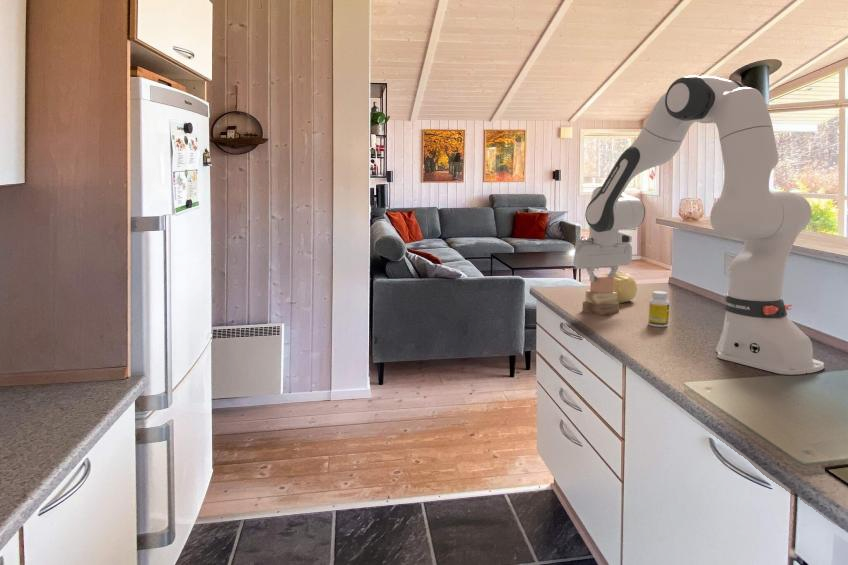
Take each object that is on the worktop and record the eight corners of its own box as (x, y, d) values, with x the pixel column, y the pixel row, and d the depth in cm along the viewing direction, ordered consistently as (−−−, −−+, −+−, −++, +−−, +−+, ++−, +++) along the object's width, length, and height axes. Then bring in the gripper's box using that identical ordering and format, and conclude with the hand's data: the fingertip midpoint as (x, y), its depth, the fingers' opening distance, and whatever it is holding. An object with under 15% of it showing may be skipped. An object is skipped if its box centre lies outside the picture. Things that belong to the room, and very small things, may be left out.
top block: (616, 303, 182) (617, 292, 182) (597, 305, 180) (597, 294, 180) (604, 299, 189) (604, 289, 188) (585, 301, 187) (585, 290, 186)
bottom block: (618, 313, 184) (619, 302, 184) (602, 316, 180) (602, 306, 179) (598, 309, 191) (599, 298, 190) (582, 312, 186) (582, 301, 186)
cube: (613, 292, 183) (613, 277, 182) (600, 293, 181) (600, 278, 180) (602, 289, 187) (603, 274, 186) (590, 291, 185) (590, 275, 185)
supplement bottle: (669, 327, 164) (671, 294, 162) (649, 327, 165) (651, 293, 163) (665, 323, 169) (667, 290, 168) (646, 322, 170) (648, 290, 169)
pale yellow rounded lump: (593, 299, 204) (594, 270, 202) (619, 296, 209) (620, 267, 207) (616, 306, 193) (618, 274, 191) (643, 302, 198) (644, 271, 196)
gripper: (582, 240, 174) (580, 284, 177) (636, 236, 182) (634, 279, 184) (570, 238, 180) (568, 281, 183) (622, 235, 187) (620, 276, 190)
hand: (602, 280), depth 183 cm, fingers open, 5 cm apart
